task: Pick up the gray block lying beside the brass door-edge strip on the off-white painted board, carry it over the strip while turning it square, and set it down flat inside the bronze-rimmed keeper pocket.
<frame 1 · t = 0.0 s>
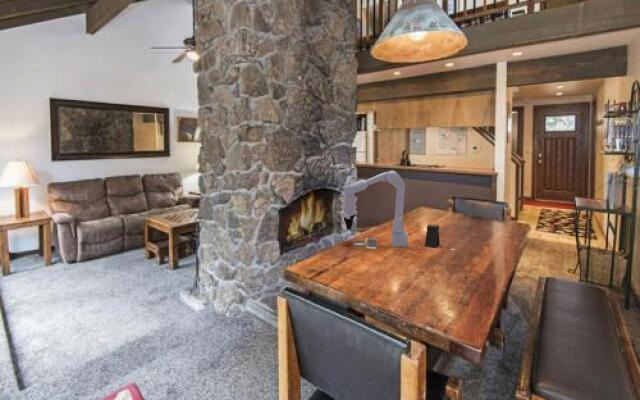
hand: (349, 227, 214), 10 cm above the table, fingers open, 7 cm apart
door board: (365, 246, 210), on the table
gray block: (372, 245, 209), point 1 cm above the table, touching door board
phone stand: (432, 245, 212), on the table
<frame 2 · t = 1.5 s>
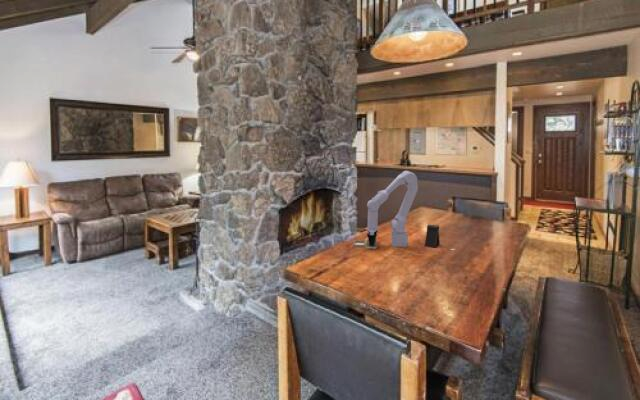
hand: (372, 243, 209), 2 cm above the table, fingers open, 7 cm apart
nothing on the table moved.
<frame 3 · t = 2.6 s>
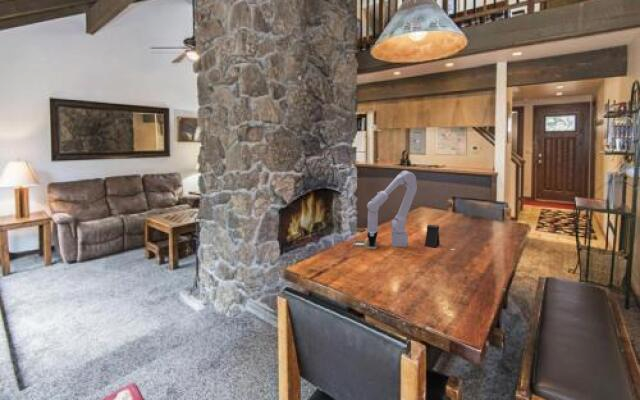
hand: (372, 244, 209), 2 cm above the table, fingers closed on gray block, 4 cm apart
gray block: (372, 245, 209), point 1 cm above the table, touching door board, gripper
everything else where it was.
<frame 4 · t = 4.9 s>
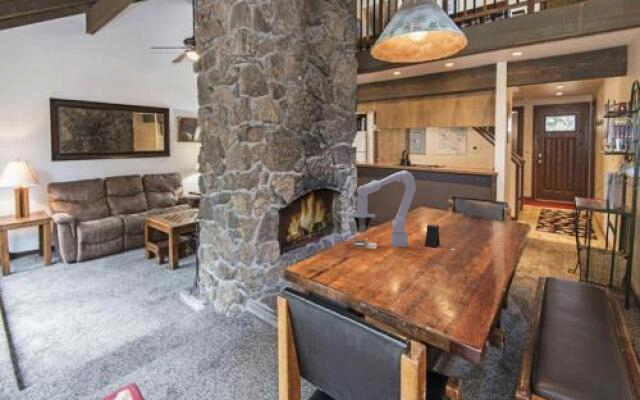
hand: (362, 230, 209), 10 cm above the table, fingers closed on gray block, 4 cm apart
gray block: (362, 231, 209), point 9 cm above the table, touching gripper
everything else where it was.
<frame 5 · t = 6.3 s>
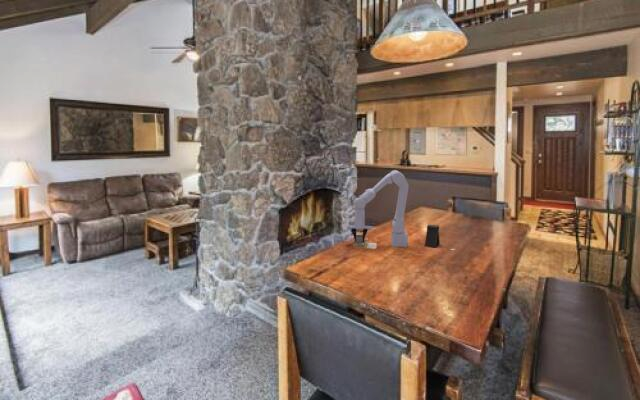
hand: (359, 241, 210), 3 cm above the table, fingers closed on gray block, 4 cm apart
gray block: (359, 242, 211), point 2 cm above the table, touching gripper
everything else where it was.
when the fingers open (3 cm above the table, at t = 7.2 s): gray block drops 1 cm, resting on door board.
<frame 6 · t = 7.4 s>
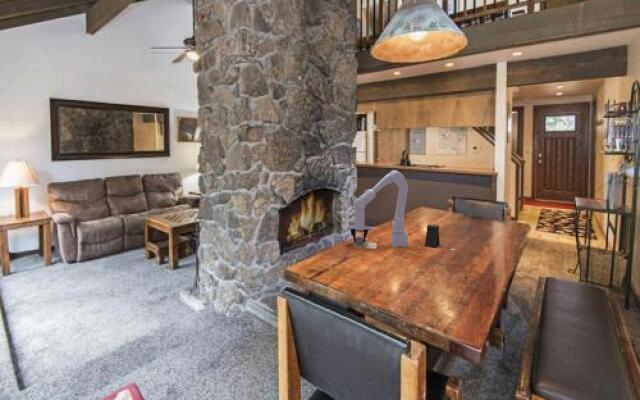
hand: (359, 242, 210), 3 cm above the table, fingers open, 5 cm apart
gray block: (359, 244, 211), point 1 cm above the table, touching door board
everything else where it was.
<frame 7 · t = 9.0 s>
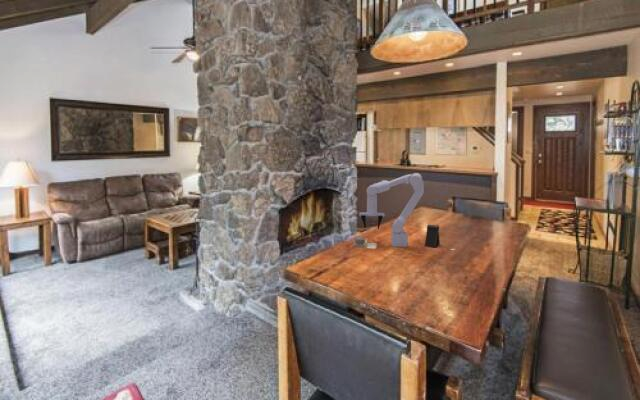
hand: (371, 228, 213), 10 cm above the table, fingers open, 7 cm apart
nothing on the table moved.
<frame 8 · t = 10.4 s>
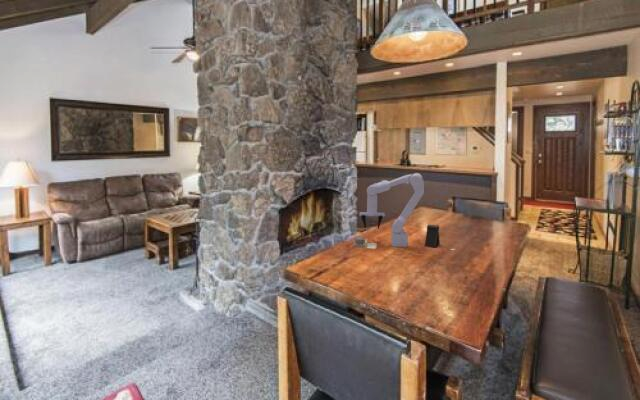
hand: (371, 228, 213), 10 cm above the table, fingers open, 7 cm apart
nothing on the table moved.
at the end: gray block 0.2 cm from the target spot, point 1.0 cm above the table; gray block tilted 0°; the gripper is holding nothing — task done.
